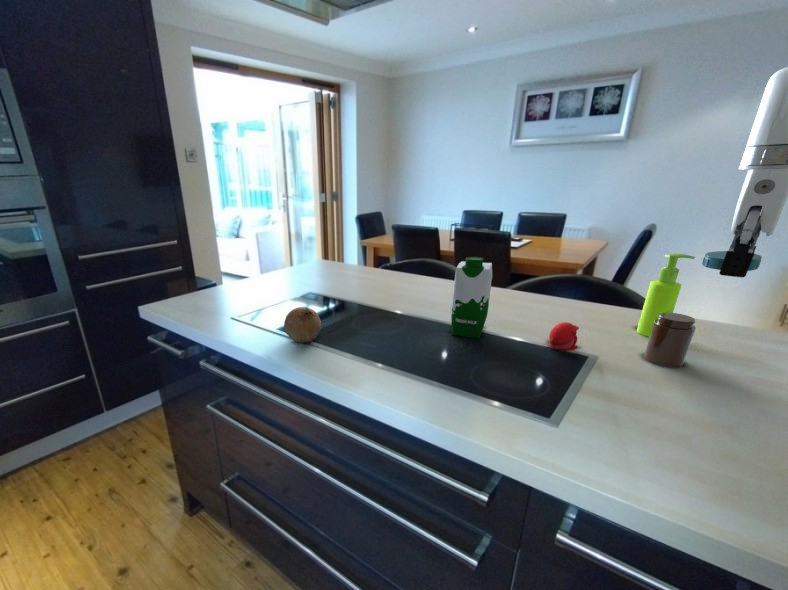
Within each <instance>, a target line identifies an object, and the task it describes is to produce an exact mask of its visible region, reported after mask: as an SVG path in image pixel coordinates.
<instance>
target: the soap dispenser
mask: <svg viewBox="0 0 788 590" xmlns="http://www.w3.org/2000/svg"><path fill="white" fill-rule="evenodd" d="M664 258H667V262H666V266H663V267H661V268H660V271H659V274H658V277H657V279H656V280H651V281H650V282H649V285H648V288H647V289H648V290H647V291H646V292H647V293H646V296H645V300H644V303H643V306H642V310H641V313H640V318H639V320H638V324H637V328H636V333H638V335H641V336H644V337H648V338H650V335H651V331H652V328H653V325H654V321H655V320H658V317H659V314H661V313H674V311H675V307H676V304H677V301H678V298H679V295H680V291H681V288H682V283H679V282H676V281H677V279H678V275H679V273H680V269H679V268H678V267H677V263H678V260H679V259H692V260H694V259H696V256H693V255H690V254H685V253H668V254H667V253H666V254H665V255H664Z"/></svg>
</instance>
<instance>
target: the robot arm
mask: <svg viewBox="0 0 788 590" xmlns="http://www.w3.org/2000/svg"><path fill="white" fill-rule="evenodd" d="M748 136H749V137H748V140H747V143H746V146H745V148H744V151H743V153H742V157H741V160H740V163H739V167H738V169H737V170H743V171H745V170H747V173H746V176H745V179H744V182H743V184H742V188H741V190H740V193H739V197H738V200H737V203H736V207H735V209H734V214H733V218H732V222H731V227H730V233H731V234H733V235H734V236H733V238H732V242H731V244H730V246H729V248H728V250H726V251H727V253H726V255H725V258H724V261H723V264H722V267H721V270H719V275H721V276H723V277H725V276H726V277H733V278H746V277H747V274H748V272H749V271H748V269H749V266H750V264H751V261H752V258H753V256H754V254H755V251H756V250H757V249H756V248H757V242H758V238H759V237H760V235H761V233H762V234H763V233H766V234H765V237H770V236H772V235H773V234H774V232H775V230H776V226H777V224H778V222H779V220H780V217H781V214H782V211H783V209H784V207H785V204H786V201H787V200H788V199H787V198H788V66H786V67H784V68H781V69H779V70H777V71H776V72H775V73H773V74H772V75H771V76H770V78H769V79H768V81H767V84H766V86H765V88H764V92H763V94H762V98H761V101H760V104H759V107H758V110H757V112H756V116H755V119H754V122H753V124H752V128H751V130H750V133H749V135H748Z"/></svg>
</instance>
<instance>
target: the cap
mask: <svg viewBox="0 0 788 590" xmlns="http://www.w3.org/2000/svg"><path fill="white" fill-rule="evenodd" d="M579 329H580V327H579V326H577V325H575V324H573V323H572V322H568V321H567V322H566V321H564V322H563V321H562V322H560V323H557V324H556V325H554V326H553V327H552V328H551V330H550V331H549V334H548V344H549V347H550V348H551V349H553V350H555V351H561V352H562V351H563V352H568V351H569V352H570V351H573V350H577V349H578V345H576V344H577V342H578V335H577V331H578V330H579Z"/></svg>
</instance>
